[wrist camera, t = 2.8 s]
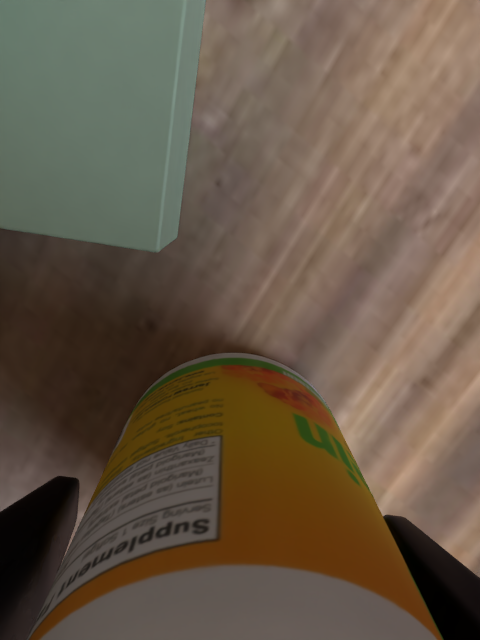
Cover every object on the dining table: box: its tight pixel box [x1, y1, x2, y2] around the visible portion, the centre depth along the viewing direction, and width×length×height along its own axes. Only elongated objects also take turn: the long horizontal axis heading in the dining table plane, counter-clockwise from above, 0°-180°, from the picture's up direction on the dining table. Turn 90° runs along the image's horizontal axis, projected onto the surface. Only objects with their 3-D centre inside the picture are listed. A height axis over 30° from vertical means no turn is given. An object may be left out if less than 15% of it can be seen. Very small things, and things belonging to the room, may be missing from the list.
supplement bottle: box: [27, 353, 444, 640], centre depth 6 cm, size 5×5×10 cm
